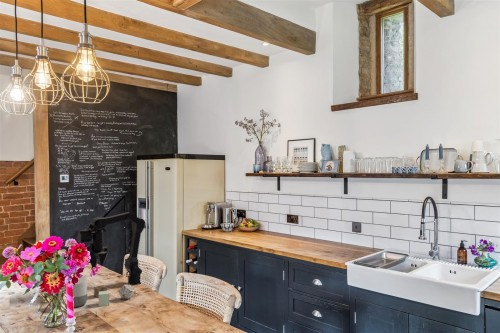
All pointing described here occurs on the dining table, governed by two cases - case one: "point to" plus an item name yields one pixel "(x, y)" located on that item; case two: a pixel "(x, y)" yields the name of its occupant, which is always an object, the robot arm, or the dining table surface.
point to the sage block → (103, 298)
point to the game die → (126, 291)
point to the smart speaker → (80, 292)
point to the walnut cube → (98, 289)
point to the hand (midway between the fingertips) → (97, 267)
